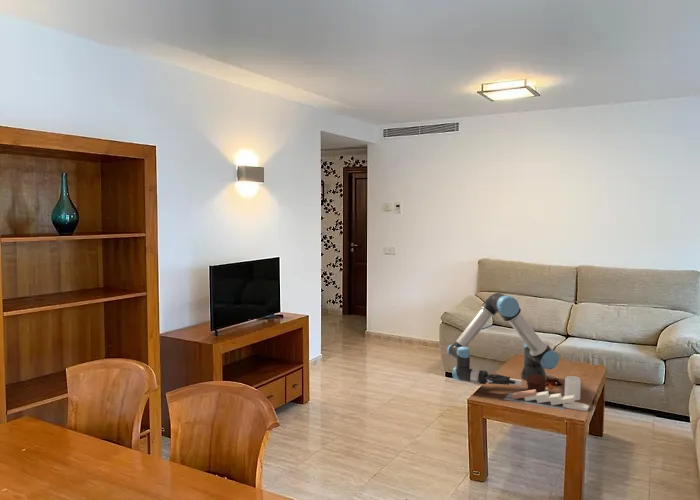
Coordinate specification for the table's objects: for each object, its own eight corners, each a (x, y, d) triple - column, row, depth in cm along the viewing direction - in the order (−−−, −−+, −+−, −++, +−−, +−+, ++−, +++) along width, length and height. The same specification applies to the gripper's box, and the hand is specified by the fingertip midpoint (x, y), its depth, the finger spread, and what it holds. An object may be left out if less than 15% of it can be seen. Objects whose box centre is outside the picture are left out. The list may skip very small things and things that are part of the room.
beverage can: (569, 395, 311) (569, 374, 310) (583, 399, 304) (583, 378, 303) (561, 398, 306) (562, 377, 305) (575, 402, 299) (575, 381, 298)
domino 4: (550, 401, 294) (572, 397, 288) (552, 398, 299) (574, 394, 293) (551, 405, 293) (574, 401, 287) (553, 402, 298) (575, 398, 293)
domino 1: (512, 395, 304) (533, 392, 298) (514, 392, 309) (535, 389, 303) (513, 399, 304) (534, 395, 298) (515, 395, 309) (536, 392, 303)
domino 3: (536, 399, 297) (558, 396, 291) (538, 396, 302) (560, 393, 296) (537, 403, 297) (559, 400, 291) (539, 399, 302) (561, 396, 296)
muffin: (548, 390, 319) (549, 373, 319) (544, 396, 310) (545, 378, 309) (527, 387, 325) (528, 370, 325) (523, 392, 316) (523, 375, 315)
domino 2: (524, 397, 300) (546, 394, 294) (526, 394, 306) (548, 391, 300) (525, 401, 300) (547, 397, 294) (527, 397, 305) (549, 394, 299)
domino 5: (563, 403, 290) (587, 408, 284) (565, 400, 295) (589, 405, 289) (562, 407, 290) (587, 412, 284) (564, 403, 296) (588, 408, 290)
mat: (509, 393, 314) (509, 392, 314) (568, 403, 298) (568, 402, 298) (503, 400, 303) (503, 399, 303) (564, 410, 287) (564, 409, 287)
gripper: (482, 380, 321) (524, 386, 310) (476, 386, 310) (518, 392, 298) (483, 367, 321) (524, 373, 309) (476, 373, 310) (518, 379, 298)
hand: (521, 382), depth 304 cm, fingers closed
